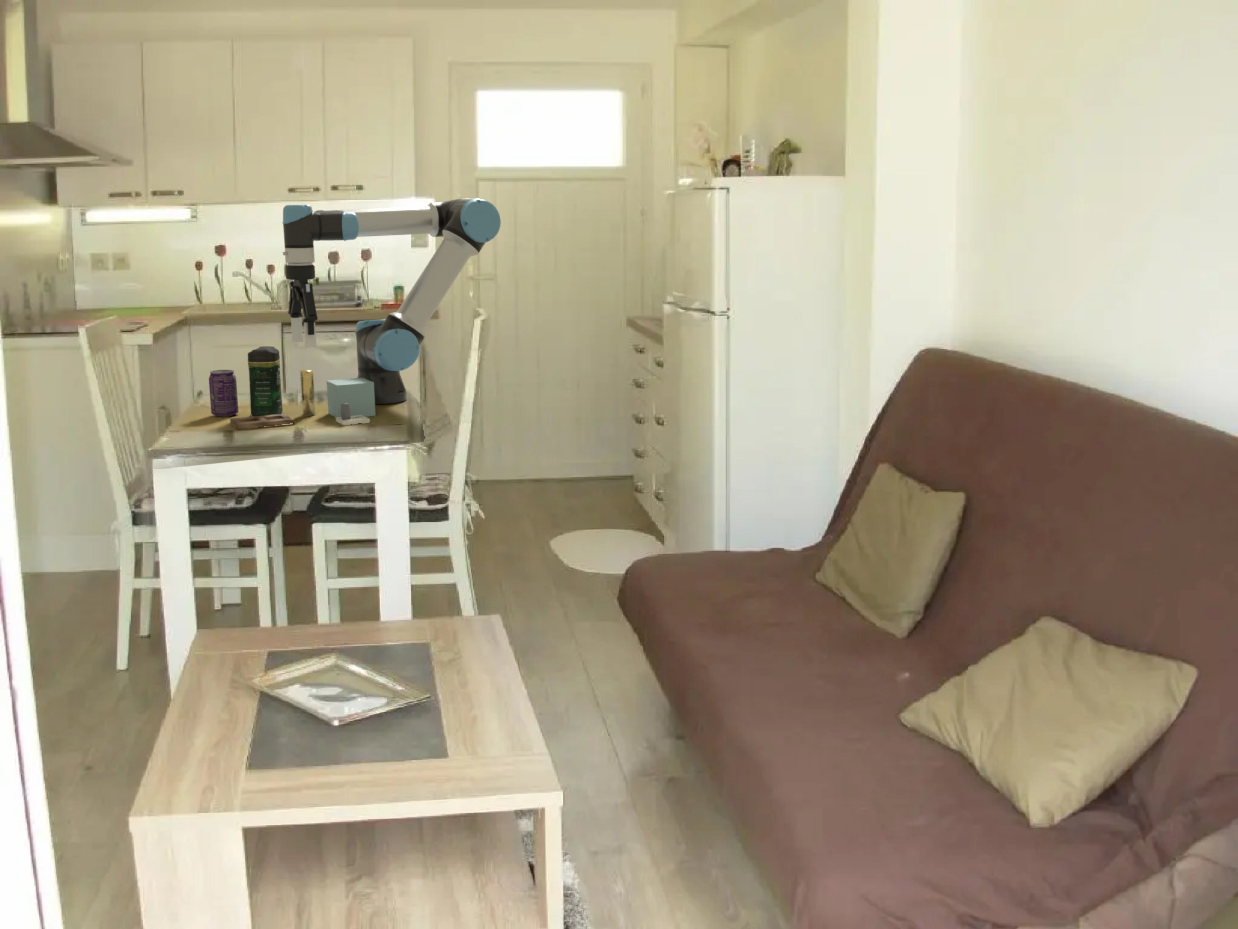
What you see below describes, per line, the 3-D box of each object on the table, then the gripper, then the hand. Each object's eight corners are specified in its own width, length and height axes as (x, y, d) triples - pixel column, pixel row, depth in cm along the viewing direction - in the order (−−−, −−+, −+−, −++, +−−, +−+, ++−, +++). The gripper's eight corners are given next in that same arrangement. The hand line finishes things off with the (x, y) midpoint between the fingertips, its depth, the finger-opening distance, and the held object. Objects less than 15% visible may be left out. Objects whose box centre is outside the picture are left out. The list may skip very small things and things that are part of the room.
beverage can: (228, 412, 376) (225, 368, 374) (244, 414, 372) (241, 370, 370) (206, 415, 371) (202, 371, 369) (221, 418, 367) (218, 373, 364)
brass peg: (313, 413, 373) (311, 369, 371) (317, 415, 370) (314, 370, 368) (301, 414, 372) (298, 370, 369) (304, 416, 369) (301, 371, 366)
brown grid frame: (284, 418, 365) (283, 413, 365) (293, 424, 356) (293, 419, 356) (230, 423, 359) (230, 418, 358) (239, 429, 350) (238, 424, 350)
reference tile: (361, 418, 364) (360, 400, 363) (369, 422, 358) (368, 403, 357) (335, 421, 361) (334, 402, 360) (343, 425, 355) (342, 406, 354)
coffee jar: (278, 418, 366) (273, 348, 362) (248, 418, 366) (243, 349, 362) (286, 412, 376) (282, 344, 372) (257, 412, 376) (252, 344, 372)
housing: (364, 410, 377) (362, 377, 375) (375, 415, 368) (373, 382, 366) (328, 413, 372) (326, 380, 370) (338, 419, 364) (337, 385, 362)
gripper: (274, 262, 372) (278, 340, 376) (297, 267, 350) (302, 350, 354) (301, 261, 375) (305, 338, 379) (327, 266, 353) (330, 348, 358)
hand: (304, 344), depth 367 cm, fingers open, 13 cm apart
